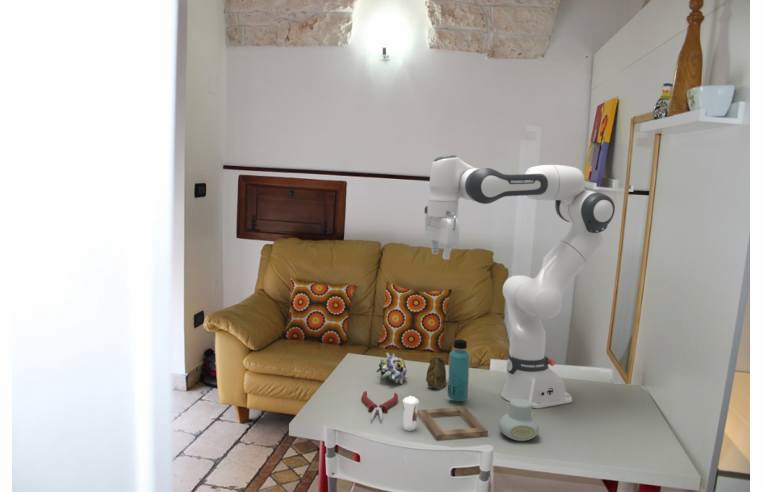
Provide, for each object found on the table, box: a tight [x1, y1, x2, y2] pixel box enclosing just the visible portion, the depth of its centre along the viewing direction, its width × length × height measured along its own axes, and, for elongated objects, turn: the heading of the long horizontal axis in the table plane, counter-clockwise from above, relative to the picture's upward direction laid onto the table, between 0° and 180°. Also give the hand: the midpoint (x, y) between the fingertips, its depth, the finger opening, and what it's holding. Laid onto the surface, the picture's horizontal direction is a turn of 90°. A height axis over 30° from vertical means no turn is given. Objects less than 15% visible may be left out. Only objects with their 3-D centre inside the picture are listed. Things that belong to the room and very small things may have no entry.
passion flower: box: [376, 352, 408, 385], centre depth 210 cm, size 11×11×12 cm
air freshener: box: [498, 398, 540, 442], centre depth 171 cm, size 11×8×10 cm
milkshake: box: [400, 394, 420, 432], centre depth 173 cm, size 4×5×10 cm
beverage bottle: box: [447, 338, 471, 402], centre depth 193 cm, size 6×7×20 cm
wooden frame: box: [417, 406, 489, 441], centre depth 177 cm, size 15×17×2 cm
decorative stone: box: [425, 356, 447, 390], centre depth 207 cm, size 10×9×4 cm
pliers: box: [360, 390, 399, 422], centre depth 186 cm, size 12×20×3 cm, turn 177°
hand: (440, 256), depth 185 cm, fingers open, 8 cm apart
